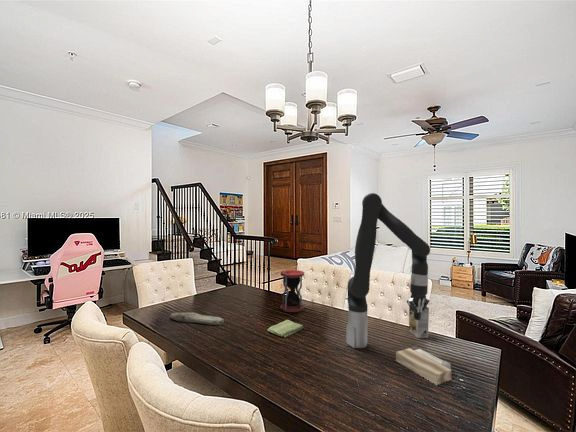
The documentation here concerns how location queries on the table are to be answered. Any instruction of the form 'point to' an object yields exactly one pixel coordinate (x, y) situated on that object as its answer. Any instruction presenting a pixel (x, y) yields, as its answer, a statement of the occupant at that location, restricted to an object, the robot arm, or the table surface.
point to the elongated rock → (197, 318)
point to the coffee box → (419, 324)
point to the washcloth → (285, 328)
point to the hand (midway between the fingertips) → (417, 319)
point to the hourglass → (292, 291)
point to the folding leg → (431, 357)
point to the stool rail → (423, 366)
